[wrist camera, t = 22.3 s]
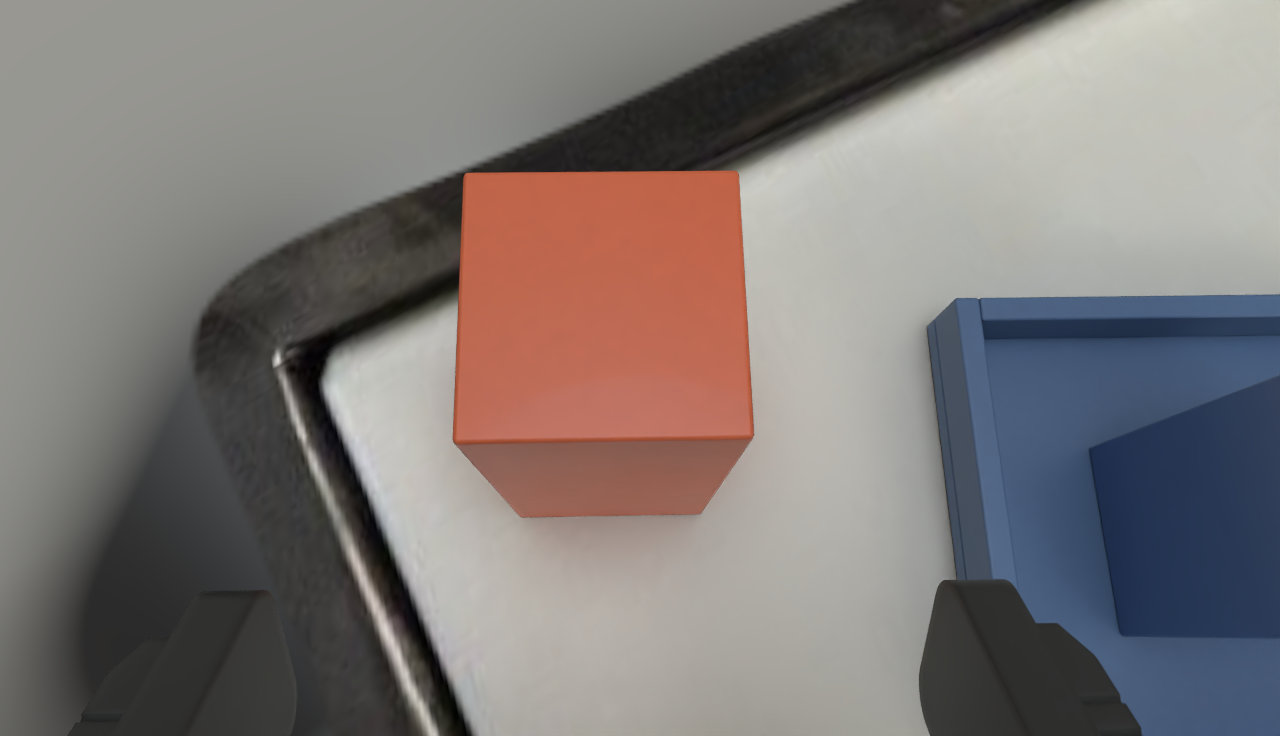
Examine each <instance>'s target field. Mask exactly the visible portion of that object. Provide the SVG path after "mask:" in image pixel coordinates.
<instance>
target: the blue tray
mask: <svg viewBox="0 0 1280 736" xmlns="http://www.w3.org/2000/svg"><path fill="white" fill-rule="evenodd" d="M927 331H928V339H929V347H930V355H931V364H932V372H933V380H934V389H935V397H936V405H937V414H938V422H939V430H940V439H941V447H942V455H943V464H944V472H945V480H946V488H947V497H948V505H949V513H950V522H951V530H952V538H953V547H954V555H955V563H956V572H957V580H980V579H1006V580H1008V581H1010V582H1011V583H1012V584H1013V585H1014V587H1015V588H1016V590H1017V591H1018V593H1019V595H1020V596H1021V598H1022V600H1023V601H1024V603H1025V605H1026V607H1027V608H1028V610H1029V612H1030V614H1031V615H1032V617H1033V619H1034V620H1035V622H1036V623H1058V624H1059V625H1060V626H1062V627H1063V628H1064V629H1065V630H1066V631H1067V632H1068V633H1070V634H1071V635H1072V636H1073V637H1074V638H1075V639H1077V640H1078V641H1079V642H1080V643H1081V644H1082V645H1084V646H1085V647H1086V648H1087V649H1088V650H1089V651H1091V652H1092V653H1093V654H1094V655H1095V656H1096V657H1097V659H1098V660H1099V662H1100V663H1101V665H1102V667H1103V668H1104V670H1105V671H1106V673H1107V674H1108V676H1109V678H1110V679H1111V681H1112V682H1113V684H1114V686H1115V687H1116V689H1117V690H1118V692H1119V693H1120V695H1121V697H1120V698H1121V702H1122V703H1126V704H1127V706H1128V708H1129V709H1130V711H1131V712H1132V714H1133V716H1134V717H1135V719H1136V720H1137V722H1138V723H1139V725H1140V727H1141V728H1142V729H1141V732H1142V735H1143V736H1280V639H1220V638H1159V637H1124V636H1122V635H1121V633H1120V627H1119V621H1118V615H1117V609H1116V603H1115V597H1114V591H1113V585H1112V579H1111V573H1110V568H1109V562H1108V556H1107V550H1106V544H1105V538H1104V532H1103V526H1102V520H1101V514H1100V508H1099V502H1098V496H1097V491H1096V485H1095V479H1094V473H1093V467H1092V461H1091V455H1090V448H1091V447H1093V446H1096V445H1098V444H1101V443H1104V442H1106V441H1109V440H1111V439H1114V438H1116V437H1119V436H1122V435H1124V434H1127V433H1129V432H1132V431H1135V430H1137V429H1140V428H1142V427H1145V426H1148V425H1150V424H1153V423H1155V422H1158V421H1161V420H1163V419H1166V418H1168V417H1171V416H1173V415H1176V414H1179V413H1181V412H1184V411H1186V410H1189V409H1192V408H1194V407H1197V406H1199V405H1202V404H1205V403H1207V402H1210V401H1212V400H1215V399H1218V398H1220V397H1223V396H1225V395H1228V394H1230V393H1233V392H1236V391H1238V390H1241V389H1243V388H1246V387H1249V386H1251V385H1254V384H1256V383H1259V382H1262V381H1264V380H1267V379H1269V378H1272V377H1274V376H1277V375H1280V295H1202V296H1117V297H1032V298H980V299H979V300H978V299H977V298H957V299H955V300H954V301H953V302H952V303H951V304H950V305H949V306H948V307H947V308H946V309H945V310H944V311H942V312H941V313H940V314H939V315H938V316H937V317H936V319H935V320H933V321H932V322H931V323H930V324H929V325H928V326H927Z"/></svg>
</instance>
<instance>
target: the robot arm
mask: <svg viewBox="0 0 1280 736" xmlns="http://www.w3.org/2000/svg"><path fill="white" fill-rule="evenodd" d="M919 691H920V700H921V707H922V711H923V716H924V719H925V722H926V725H927V728H928V731H929V734H930V736H1143V735H1142V732H1141V729H1142V728H1141V727H1140V725H1139V723H1138V722H1137V720H1136V719H1135V717H1134V716H1133V714H1132V712H1131V711H1130V709H1129V708H1128V706H1127V704H1126V703H1122V702H1121V698H1120V697H1121V695H1120V693H1119V692H1118V690H1117V689H1116V687H1115V686H1114V684H1113V682H1112V681H1111V679H1110V678H1109V676H1108V674H1107V673H1106V671H1105V670H1104V668H1103V667H1102V665H1101V663H1100V662H1099V660H1098V659H1097V657H1096V656H1095V655H1094V654H1093V653H1092V652H1091V651H1089V650H1088V649H1087V648H1086V647H1085V646H1084V645H1082V644H1081V643H1080V642H1079V641H1078V640H1077V639H1075V638H1074V637H1073V636H1072V635H1071V634H1070V633H1068V632H1067V631H1066V630H1065V629H1064V628H1063V627H1062V626H1060V625H1059V624H1058V623H1036V622H1035V620H1034V619H1033V617H1032V615H1031V614H1030V612H1029V610H1028V608H1027V607H1026V605H1025V603H1024V601H1023V600H1022V598H1021V596H1020V595H1019V593H1018V591H1017V590H1016V588H1015V587H1014V585H1013V584H1012V583H1011V582H1010V581H1008V580H1006V579H980V580H943V581H942V582H941V583H940V584H939V586H938V588H937V592H936V595H935V600H934V605H933V610H932V614H931V619H930V624H929V629H928V633H927V638H926V643H925V647H924V652H923V657H922V662H921V666H920V674H919ZM296 707H297V685H296V679H295V674H294V671H293V667H292V664H291V659H290V655H289V651H288V648H287V644H286V640H285V636H284V632H283V629H282V625H281V621H280V617H279V613H278V610H277V606H276V602H275V599H274V597H273V596H272V594H271V593H270V592H269V591H266V590H253V591H251V590H249V591H203V592H200V593H199V594H197V595H196V596H195V597H194V598H193V599H192V601H191V602H190V604H189V606H188V607H187V609H186V610H185V612H184V614H183V615H182V617H181V619H180V620H179V622H178V624H177V625H176V627H175V629H174V630H173V632H172V634H171V636H170V637H168V638H148V639H147V640H146V641H145V642H144V643H143V644H141V646H139V647H138V648H137V649H136V650H135V651H133V652H132V653H131V654H130V655H129V656H128V657H127V658H125V659H124V660H123V661H122V662H121V663H119V664H118V665H117V666H116V667H115V668H114V669H112V670H111V671H110V672H109V673H108V674H107V676H106V677H105V679H104V680H103V682H102V683H101V685H100V687H99V688H98V690H97V691H96V693H95V694H94V696H93V697H92V699H91V701H90V702H89V703H88V705H87V707H86V708H85V710H84V711H83V713H82V714H81V715H82V719H81V721H80V723H76V724H75V725H74V727H73V728H72V730H71V731H70V733H69V734H68V736H290V735H291V732H292V729H293V725H294V720H295V715H296Z"/></svg>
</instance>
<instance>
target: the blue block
mask: <svg viewBox="0 0 1280 736" xmlns="http://www.w3.org/2000/svg"><path fill="white" fill-rule="evenodd" d="M1090 455H1091V461H1092V467H1093V473H1094V479H1095V485H1096V491H1097V496H1098V502H1099V508H1100V514H1101V520H1102V526H1103V532H1104V538H1105V544H1106V550H1107V556H1108V562H1109V568H1110V573H1111V579H1112V585H1113V591H1114V597H1115V603H1116V609H1117V615H1118V621H1119V627H1120V633H1121V635H1122V636H1124V637H1159V638H1220V639H1280V375H1277V376H1274V377H1272V378H1269V379H1267V380H1264V381H1262V382H1259V383H1256V384H1254V385H1251V386H1249V387H1246V388H1243V389H1241V390H1238V391H1236V392H1233V393H1230V394H1228V395H1225V396H1223V397H1220V398H1218V399H1215V400H1212V401H1210V402H1207V403H1205V404H1202V405H1199V406H1197V407H1194V408H1192V409H1189V410H1186V411H1184V412H1181V413H1179V414H1176V415H1173V416H1171V417H1168V418H1166V419H1163V420H1161V421H1158V422H1155V423H1153V424H1150V425H1148V426H1145V427H1142V428H1140V429H1137V430H1135V431H1132V432H1129V433H1127V434H1124V435H1122V436H1119V437H1116V438H1114V439H1111V440H1109V441H1106V442H1104V443H1101V444H1098V445H1096V446H1093V447H1091V448H1090Z"/></svg>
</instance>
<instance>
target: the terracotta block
mask: <svg viewBox="0 0 1280 736" xmlns="http://www.w3.org/2000/svg"><path fill="white" fill-rule="evenodd" d="M753 437H754V424H753V407H752V389H751V372H750V355H749V338H748V321H747V304H746V287H745V270H744V253H743V236H742V219H741V202H740V185H739V175H738V172H737V171H648V172H522V173H466V174H465V175H464V178H463V201H462V226H461V250H460V274H459V299H458V323H457V347H456V371H455V396H454V420H453V442H454V444H455V445H456V446H457V447H458V448H459V449H460V450H461V451H462V453H463V454H464V455H465V456H466V457H467V458H468V459H469V460H470V461H471V463H472V464H473V465H474V466H475V467H476V468H477V469H478V470H479V471H480V473H481V474H482V475H483V476H484V477H485V478H486V479H487V480H488V481H489V483H490V484H491V485H492V486H493V487H494V488H495V489H496V490H497V491H498V493H499V494H500V495H501V496H502V497H503V498H504V499H505V500H506V501H507V503H508V504H509V505H510V506H511V507H512V508H513V509H514V510H515V511H516V513H517V514H518V515H519V516H520V517H565V516H621V515H676V514H700V513H702V511H703V510H704V508H705V507H706V505H707V504H708V502H709V501H710V500H711V498H712V497H713V495H714V494H715V492H716V491H717V489H718V488H719V487H720V485H721V484H722V482H723V481H724V479H725V478H726V476H727V475H728V474H729V472H730V471H731V469H732V468H733V466H734V465H735V463H736V462H737V461H738V459H739V458H740V456H741V455H742V453H743V452H744V450H745V449H746V448H747V446H748V445H749V443H750V442H751V440H752V439H753Z"/></svg>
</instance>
